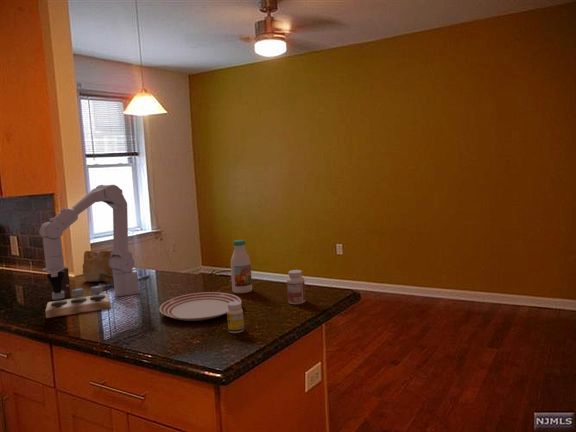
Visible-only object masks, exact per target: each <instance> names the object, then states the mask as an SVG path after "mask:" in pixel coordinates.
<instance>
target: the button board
mask: <svg viewBox="0 0 576 432" xmlns="http://www.w3.org/2000/svg"><path fill="white" fill-rule="evenodd" d="M111 305H112V304H111V297H110V293H103V294H102V293H100V294H93V295H89V296H88V295H87V296H80V297H73V298H66V299H59V300H53V301H48V302H47V304H46V306H45V307H46V308H45V310H44V311H45V312H44V313H45V318H46V319H50V318H56V317H62V316H63V317H64V316H68V315H69V316H70V315H74V314H80V313H81V312H82V313H86V312H92V311H93V312H94V311H99V310H106V309H111V308H112V306H111Z"/></svg>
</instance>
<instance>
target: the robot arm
mask: <svg viewBox="0 0 576 432" xmlns="http://www.w3.org/2000/svg"><path fill="white" fill-rule="evenodd" d="M101 202H102V203H104V204H107V205H108V206H109V207H110V208H111V209H112V222H113V224H112V227H113V229H112V230H113V233H112V234H113V236H112V237H113V248H112V251H111V250H110V251H111V257H110V259H109V266H110V268H111V269H112V270H113V279H114V282H113V287H114V291H113V297H115V298H117V297H122V296H123V297H124V296H130V295H137V294H140V283H139V275H138V274H139V273H138V271H137V270H135V269H134V267H135V260H134V258H133V253H132V251H131V250H130V248H129V231H128V230H129V229H128V228H129V227H128V226H129V223H128V202H127V200H126V198H125V196H124V193H123V189H121V188H120V187H119V186H118V185H116V184H100V185H97V186H96V187H95V188H92V189H91V190H90V191H89V193H87V194H86V195H85V196H84V197H82V198H81V199H80V200H79V201H78V202H77V203H76V204H74V205H73V206H72V207H65V208H61V209H60V210H59V213H58V214H57V215H55V216H54V217H51V218H49V221H46V222H44V223H42V224H41V226H40V227H39V230H38V233H39V235H40V236H41V237H42V242H43V244H42V245H43V251H44V252H43V253H44V262H45V268H42V272H47V274H46V278H47V279H48V281H49V282H50V284H51V288H53V289H52V292H53V291H54V293H61V290H62V279H63V276H64V273H65V271H61V270H63V269H65V267H66V266H65V265H64V255H63V247H62V238H61V237H62V235H63V234H64V231H65V230H67V228H69V227H70V226H71V225H73V224H74V223H75V222H77V221H78V219H79V215H80V214H81V213H83V212H84V211H85V210H87V209H88V208H90V207H92V206H93V204H95V203H101ZM133 269H134V270H133Z"/></svg>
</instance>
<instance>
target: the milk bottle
mask: <svg viewBox="0 0 576 432" xmlns="http://www.w3.org/2000/svg"><path fill="white" fill-rule="evenodd" d="M232 243H233V247H234V250H233V253H232V256H231V258H230V273H231V274H230V275H231V290H232V292H233V293H234V294H247V293H249V292H252V291H253V280H252V265H251V264H252V263H251V259H250V256H249V254H248V252H247V250H246V240H245V239H236V240H233V241H232Z"/></svg>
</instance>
